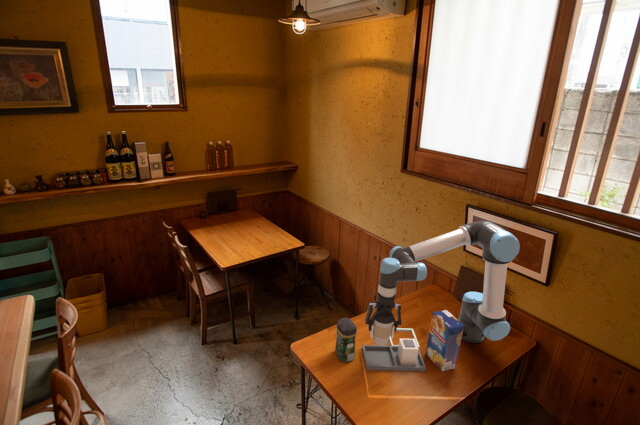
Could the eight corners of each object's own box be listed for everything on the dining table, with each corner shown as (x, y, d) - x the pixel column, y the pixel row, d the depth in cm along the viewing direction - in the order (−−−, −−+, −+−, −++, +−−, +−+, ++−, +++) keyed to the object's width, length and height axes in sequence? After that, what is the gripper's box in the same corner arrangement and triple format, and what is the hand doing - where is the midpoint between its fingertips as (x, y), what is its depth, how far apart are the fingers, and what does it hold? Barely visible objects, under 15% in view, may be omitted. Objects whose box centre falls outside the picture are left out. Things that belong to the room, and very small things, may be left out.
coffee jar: (332, 350, 167) (334, 317, 161) (347, 346, 170) (349, 314, 164) (341, 364, 159) (344, 330, 153) (356, 360, 162) (360, 326, 156)
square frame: (412, 330, 183) (412, 328, 183) (419, 349, 170) (419, 346, 170) (386, 330, 183) (386, 327, 182) (391, 348, 170) (391, 346, 170)
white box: (412, 354, 166) (414, 338, 162) (416, 365, 159) (418, 348, 156) (397, 354, 165) (399, 337, 162) (400, 365, 159) (403, 348, 156)
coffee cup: (390, 349, 153) (394, 320, 148) (369, 345, 155) (373, 317, 150) (391, 335, 162) (394, 308, 157) (371, 332, 163) (374, 305, 158)
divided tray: (416, 351, 169) (417, 346, 168) (425, 373, 156) (426, 367, 155) (362, 350, 168) (362, 344, 167) (366, 371, 156) (366, 366, 155)
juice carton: (455, 369, 159) (464, 325, 151) (441, 373, 156) (450, 328, 148) (438, 351, 169) (446, 309, 161) (425, 355, 167) (432, 312, 159)
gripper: (409, 288, 154) (403, 331, 161) (360, 287, 153) (356, 330, 161) (413, 298, 147) (407, 342, 154) (362, 297, 146) (358, 341, 154)
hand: (381, 336), depth 158 cm, fingers closed on coffee cup, 8 cm apart
